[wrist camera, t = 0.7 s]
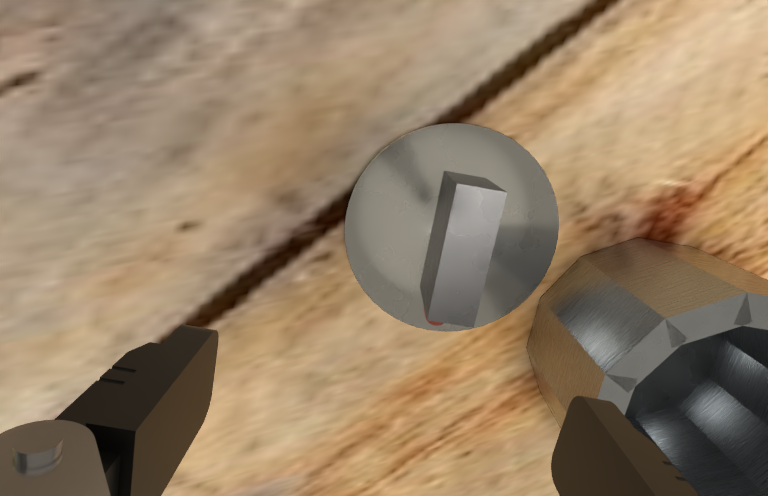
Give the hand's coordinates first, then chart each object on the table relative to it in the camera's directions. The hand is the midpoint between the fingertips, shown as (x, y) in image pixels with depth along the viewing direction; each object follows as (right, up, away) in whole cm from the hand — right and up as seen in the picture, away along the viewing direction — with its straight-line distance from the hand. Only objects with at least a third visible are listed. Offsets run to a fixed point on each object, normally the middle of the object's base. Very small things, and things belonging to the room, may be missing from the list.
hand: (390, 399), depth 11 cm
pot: (+16, -2, +20) cm, 26 cm away
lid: (+4, +5, +18) cm, 19 cm away
